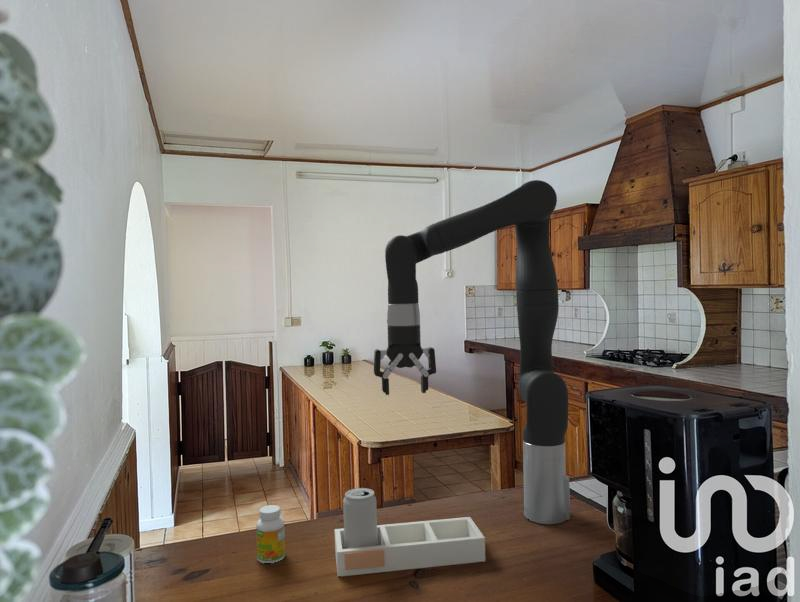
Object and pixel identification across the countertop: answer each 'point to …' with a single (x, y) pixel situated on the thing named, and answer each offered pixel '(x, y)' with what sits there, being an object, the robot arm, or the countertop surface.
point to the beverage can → (360, 518)
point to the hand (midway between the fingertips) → (405, 393)
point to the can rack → (413, 547)
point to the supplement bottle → (270, 535)
